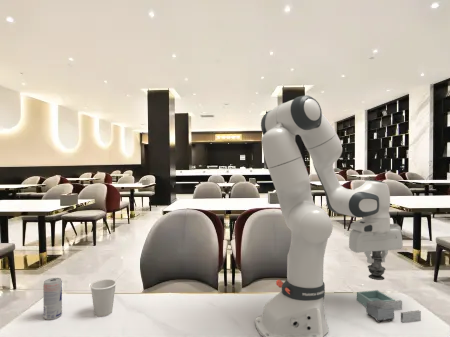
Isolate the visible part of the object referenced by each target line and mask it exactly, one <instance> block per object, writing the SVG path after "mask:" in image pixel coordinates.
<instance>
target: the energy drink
mask: <svg viewBox="0 0 450 337" xmlns="http://www.w3.org/2000/svg"><path fill="white" fill-rule="evenodd" d="M62 281H63V280H62V277H61V278H60V277H52V278H48V279H45V280H44V282H43V284H42V285H43V286H42V287H43V296H42V297H43V319H45V320H47V321H51V320H52V321H53V320H55V319H56V320H57V319H59V318H60V317H61V316H62V313H63V301H62V300H63V282H62Z"/></svg>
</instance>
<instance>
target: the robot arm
mask: <svg viewBox="0 0 450 337" xmlns="http://www.w3.org/2000/svg"><path fill="white" fill-rule="evenodd" d="M260 121H261V122H260V128H261V133H262V137H261V147H262V152H263V157H264V160H265V161H264V162H265V164H266V167H267V170H268V172H269V175H270V178H271V181H272V183H273V187H274V188H275V189H274V190H275V191H276V195H277V200H278V204H279V207H280V211H281V215H282V217H283V221H284V223H285V225H286V227H287V228H288V229H289V230H290V234H291V235H290V236H291V238H290V245H289V249H288V250H289V251H288V253H287V256H286V257H287V258H286V260H287V261H286V267H287V268H286V271H287V272H286V277H287V278H286V279H285V281H284V282H283V281H282V280H281V279H277V280H276V283H275V285H276V286H277V287H278V288H281V291H280V292H279V293H278V294H276V295H275V296H274V297H273V298H271V299H269V300H268V302H266V303H265V304H264V306H263V311H262V315H260V316H257V317H256V319H255V321H254V322H255V325H254V326H255V327H256V330H257V331H258V333H259V334H260V336H262V337H324V336H326V335H327V334H328V332H329V326H328V322H327V318H326V311H325V295H326V290H325V286H326V285H325V282H324V264H325V263H324V261H325V259H324V258H325V254H326V250H327V249H326V248H327V244H328V239H329V238H330V237H331V235H332V232H333V227H334V226H333V221H332V219H331V217H330V216H329V214H328V213H327V212H326V210H324V208H322V207H320V206H318V205H316V204H315V202H314V200H313V194H312V189H311V188H312V187H311V178H310V175H309V172H308V170H307V167H306V164H305V162H304V159H303V156H302V154H301V150H300V148H299V146H298V144H297V142H296V136H297V135H299V137H300V138H301V141H302V142H303V144H304V146H305V149H306V151H307V152H308V154H309V156H310V158H311V160H312V165H313V168H314V170H315V173H316V175H317V177H318V180H319V181H320V184H321V187H322V188H323V191H324V194H325V202H326V205H327V208H328V209H329V211H330V212H332V213H333V214H337V215H345V216H349V217H353V218H360V219H358V220H356V221H354V222H352V223H350V229H351V231H350V233H349V239H348V248H349V249H350V251H351V252H354V253H355V254H358V253H363V254H364V255H365V257H366V259H367V260H366V262H367V263H368V264H369V265H371V264H372V263H374V259H373V258H371V256H372V251H381V257H382V259H381V264H382V263H383V264H384V263H386V258H387V256H388V254H389V251H393V250H394V251H396V250H401V249H402V248H403V243H404V242H403V235H402V228H401V226H400V225H399V224H398V223H391V215H390V207H391V193H390V188H389V185H388V184H387V183H386V182H385V181H381V180H374V179H367V180H365V182H364V183H363V184H361V185H360V186H358V187H356V188H354V189H352V188H351V189H349V188H346V187H344V186H343V185H342V184H341V183H340V180H339V178H338V176H337V174H336V172H335V169H334V164H335V162H337V161H338V160H339V158H340V157H341V156H342V153H343V147H342V146H343V145H342V142H341V139H340V138H339V135H338V134H337V131H336V130H335V128H334V127H333V125H332V124H331V122H330V121H329V119H328V118H327V117H326V116H325V115H324V113H323V112H322V108H321V105H320V103H319V102H318V101H317V100H316V99H315V98H313V97H312V96H311V95H300V96H296V97H295V98H294V99H291V100H288V101H286V102H283V103H280V104H278V105H277V106H276V107H274V108H273V109H270V110H268V111H267V112H266V113H265V114H264V115H263V117H261V120H260Z"/></svg>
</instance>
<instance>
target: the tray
mask: <svg viewBox="0 0 450 337" xmlns="http://www.w3.org/2000/svg"><path fill="white" fill-rule="evenodd" d="M379 300H382V301H384V302H388V301H396V299H394V298H393V297H391V296H389V295H386V294H385V293H384V292H381V291H380V290H378V289H375V290H373V289H372V290H366V291H365V290H364V291H357V292H356V301H357V302H358V303H360V304H362V305H363V306H364V307H366V308H367V302H370V301H379Z"/></svg>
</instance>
